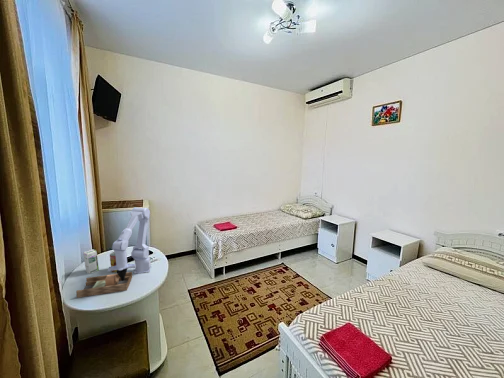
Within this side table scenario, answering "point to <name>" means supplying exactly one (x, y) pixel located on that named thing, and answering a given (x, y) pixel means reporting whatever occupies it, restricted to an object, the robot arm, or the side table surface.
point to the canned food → (113, 260)
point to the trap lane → (104, 285)
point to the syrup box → (91, 261)
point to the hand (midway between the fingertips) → (123, 280)
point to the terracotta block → (110, 279)
